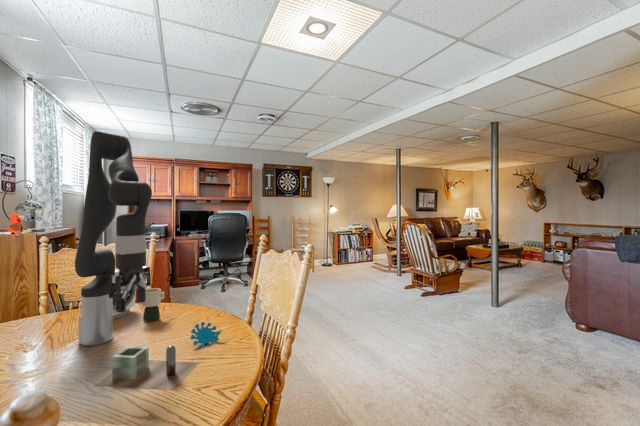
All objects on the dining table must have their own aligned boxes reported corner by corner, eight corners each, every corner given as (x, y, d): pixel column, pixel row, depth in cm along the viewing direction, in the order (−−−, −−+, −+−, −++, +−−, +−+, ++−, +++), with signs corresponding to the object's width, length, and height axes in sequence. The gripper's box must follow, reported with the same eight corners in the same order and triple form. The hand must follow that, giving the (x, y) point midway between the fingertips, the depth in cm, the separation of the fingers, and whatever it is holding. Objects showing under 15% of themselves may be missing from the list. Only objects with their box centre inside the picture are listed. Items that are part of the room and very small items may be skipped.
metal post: (164, 376, 86) (164, 347, 86) (169, 371, 88) (169, 343, 88) (172, 376, 86) (172, 348, 86) (177, 372, 88) (177, 344, 88)
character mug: (160, 314, 138) (160, 286, 138) (168, 318, 134) (168, 288, 133) (134, 322, 129) (134, 291, 129) (142, 325, 125) (142, 294, 125)
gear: (194, 350, 101) (189, 322, 107) (188, 358, 104) (183, 330, 110) (225, 344, 108) (219, 319, 114) (218, 352, 111) (213, 327, 117)
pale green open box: (112, 378, 85) (112, 356, 85) (128, 366, 91) (128, 346, 91) (134, 379, 85) (134, 357, 84) (148, 367, 91) (148, 347, 91)
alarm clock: (105, 324, 126) (105, 275, 126) (88, 322, 128) (88, 274, 127) (138, 310, 144) (138, 267, 143) (123, 308, 145) (122, 266, 145)
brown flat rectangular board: (95, 390, 81) (95, 385, 81) (131, 363, 95) (131, 359, 95) (174, 394, 80) (174, 389, 80) (199, 366, 94) (199, 362, 94)
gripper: (135, 247, 95) (135, 299, 95) (99, 254, 81) (99, 315, 81) (158, 247, 94) (158, 299, 95) (126, 254, 80) (126, 315, 80)
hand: (131, 306), depth 88 cm, fingers open, 8 cm apart
